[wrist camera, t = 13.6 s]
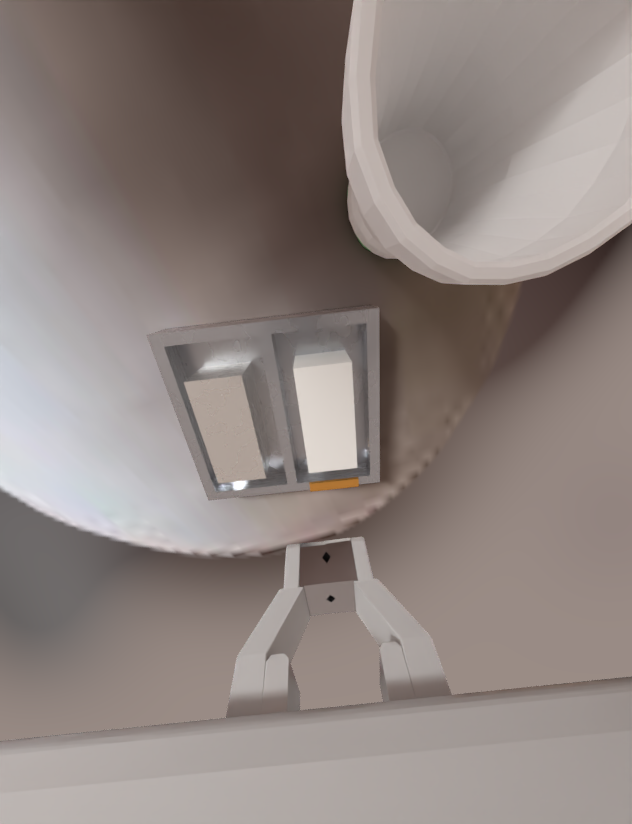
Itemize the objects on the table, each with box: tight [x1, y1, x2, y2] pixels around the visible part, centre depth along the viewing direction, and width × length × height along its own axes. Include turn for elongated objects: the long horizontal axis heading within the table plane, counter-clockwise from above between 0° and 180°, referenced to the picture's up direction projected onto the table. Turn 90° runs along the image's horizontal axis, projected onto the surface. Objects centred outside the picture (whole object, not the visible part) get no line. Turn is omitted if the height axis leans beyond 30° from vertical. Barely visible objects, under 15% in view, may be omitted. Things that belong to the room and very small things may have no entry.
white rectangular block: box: [293, 350, 357, 473], centre depth 24 cm, size 10×4×4 cm, turn 6°
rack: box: [147, 305, 380, 500], centre depth 25 cm, size 17×18×5 cm
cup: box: [341, 0, 632, 285], centre depth 14 cm, size 11×11×14 cm
